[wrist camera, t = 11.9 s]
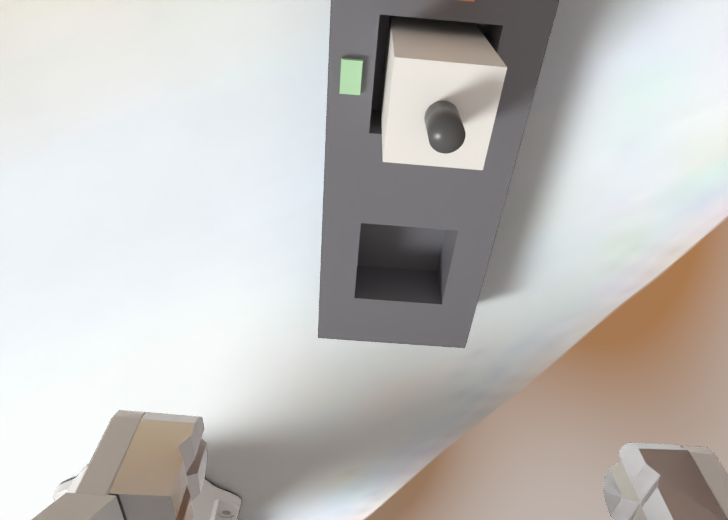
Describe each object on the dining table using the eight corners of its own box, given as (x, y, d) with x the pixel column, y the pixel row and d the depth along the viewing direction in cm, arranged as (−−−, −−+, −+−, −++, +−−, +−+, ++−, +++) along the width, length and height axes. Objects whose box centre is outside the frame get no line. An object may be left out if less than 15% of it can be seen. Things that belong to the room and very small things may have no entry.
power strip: (457, 309, 39) (466, 354, 35) (322, 299, 38) (317, 344, 35) (550, -73, 25) (581, -65, 21) (339, -94, 24) (333, -89, 21)
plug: (458, 107, 29) (490, 192, 21) (380, 100, 29) (383, 183, 21) (475, 23, 27) (518, 83, 19) (389, 14, 27) (396, 72, 18)
